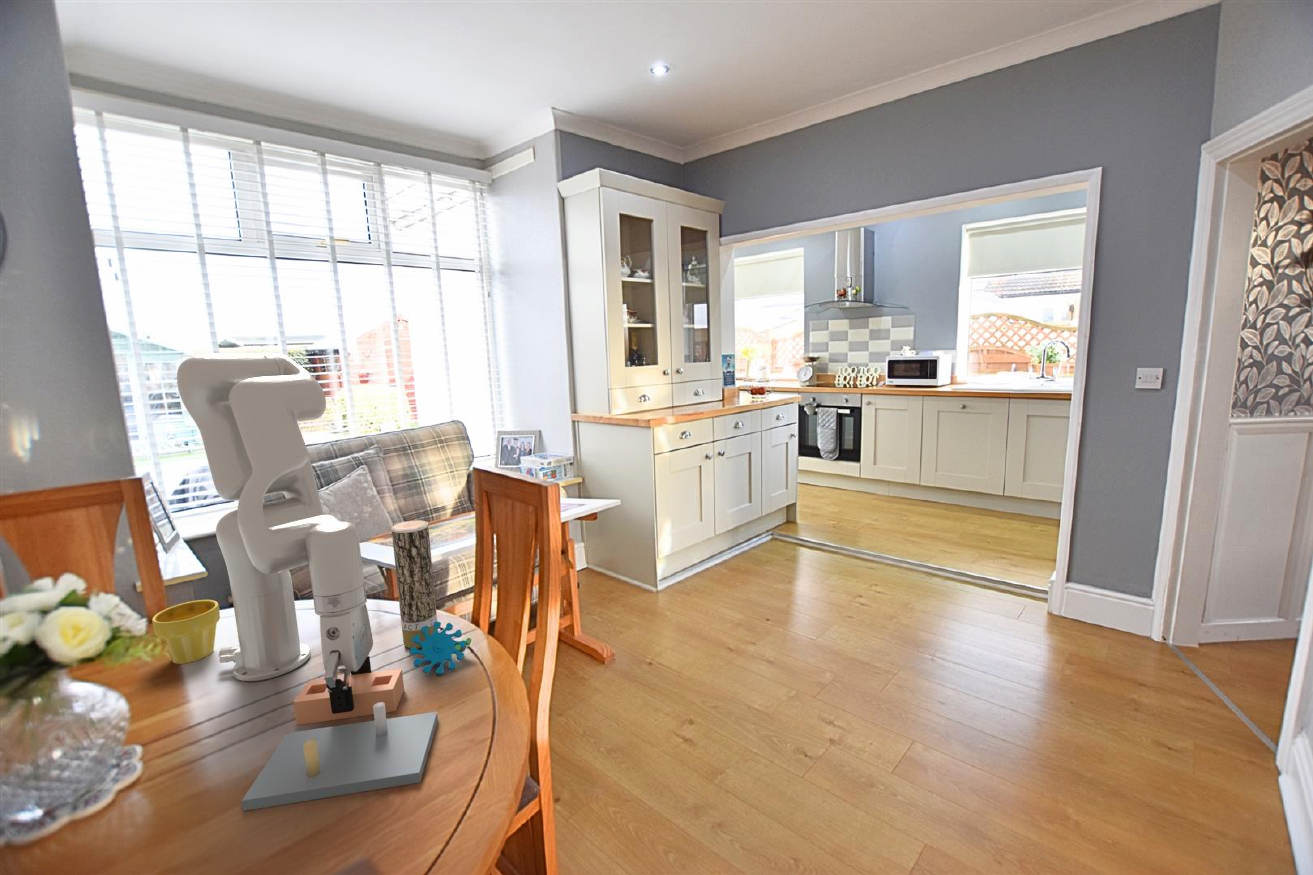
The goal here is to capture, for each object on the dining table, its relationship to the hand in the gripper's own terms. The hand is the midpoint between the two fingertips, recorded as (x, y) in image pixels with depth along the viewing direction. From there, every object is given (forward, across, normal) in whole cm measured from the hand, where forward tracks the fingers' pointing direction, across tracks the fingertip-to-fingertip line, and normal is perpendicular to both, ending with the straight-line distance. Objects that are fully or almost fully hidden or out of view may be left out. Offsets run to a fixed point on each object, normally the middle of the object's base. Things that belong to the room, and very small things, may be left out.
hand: (353, 694), depth 97 cm
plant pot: (+2, +27, +38) cm, 47 cm away
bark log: (+2, +21, -6) cm, 22 cm away
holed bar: (+2, 0, 0) cm, 2 cm away
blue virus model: (+3, +11, -12) cm, 17 cm away
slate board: (+3, -14, -4) cm, 15 cm away
